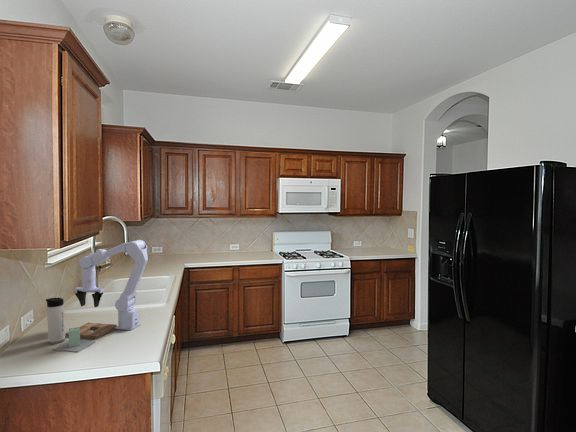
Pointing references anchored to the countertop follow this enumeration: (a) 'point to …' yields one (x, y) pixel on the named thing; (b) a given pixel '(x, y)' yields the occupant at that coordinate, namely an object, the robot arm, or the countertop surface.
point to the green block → (74, 337)
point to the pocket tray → (99, 330)
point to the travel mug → (55, 320)
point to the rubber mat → (77, 348)
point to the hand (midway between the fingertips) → (89, 306)
